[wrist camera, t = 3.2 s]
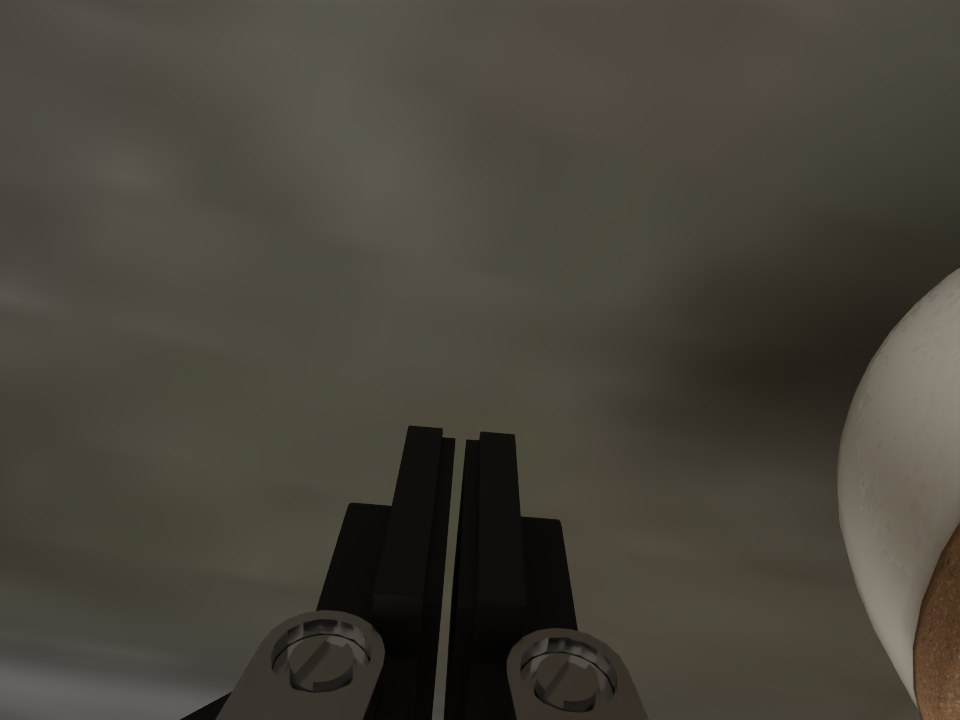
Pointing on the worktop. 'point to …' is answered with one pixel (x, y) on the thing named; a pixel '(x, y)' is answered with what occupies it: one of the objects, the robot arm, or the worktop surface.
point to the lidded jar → (910, 498)
